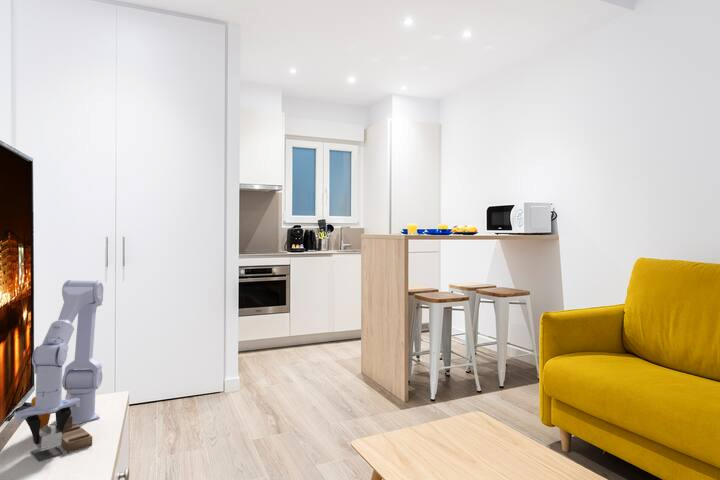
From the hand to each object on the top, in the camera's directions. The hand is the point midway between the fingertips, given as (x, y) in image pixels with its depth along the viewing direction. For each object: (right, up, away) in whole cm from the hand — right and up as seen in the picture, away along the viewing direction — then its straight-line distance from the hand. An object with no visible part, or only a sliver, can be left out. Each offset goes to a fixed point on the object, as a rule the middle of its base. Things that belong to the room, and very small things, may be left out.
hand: (47, 439), depth 119 cm
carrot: (-9, -3, +10) cm, 14 cm away
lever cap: (0, -1, 0) cm, 1 cm away
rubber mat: (0, -4, 0) cm, 4 cm away
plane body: (+2, -4, +7) cm, 8 cm away
